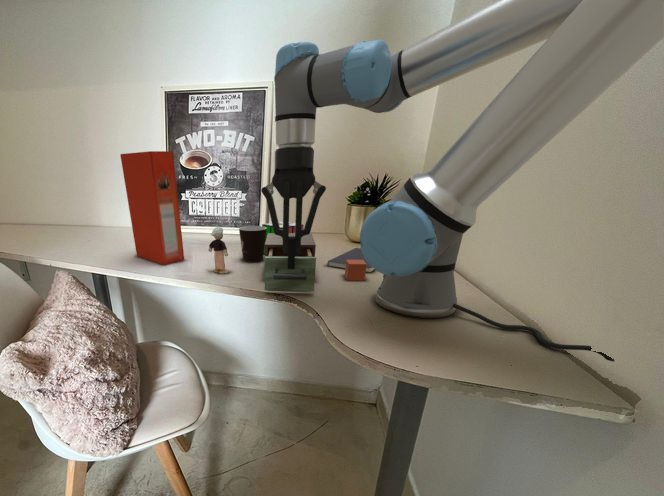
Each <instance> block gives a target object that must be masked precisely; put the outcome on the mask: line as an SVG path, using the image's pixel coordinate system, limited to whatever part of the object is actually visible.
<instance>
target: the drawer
mask: <svg viewBox="0 0 664 496" xmlns="http://www.w3.org/2000/svg"><path fill="white" fill-rule="evenodd" d="M316 266H317V257H316V256H315V257H312V254H311V251H310V248H301V251H300V253H295V269H288V253H283V248H270V251H269V256H265V255H264V291H282V292H283V291H285V292H286V291H289V292H314V291H315V283H316V282H315V279H316Z"/></svg>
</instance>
